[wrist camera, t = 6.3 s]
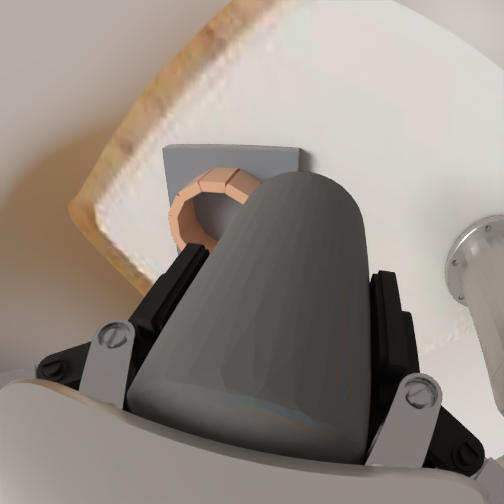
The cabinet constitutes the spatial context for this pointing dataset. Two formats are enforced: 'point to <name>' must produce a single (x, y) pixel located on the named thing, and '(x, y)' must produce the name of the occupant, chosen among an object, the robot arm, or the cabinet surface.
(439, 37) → the cabinet surface
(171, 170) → the holder
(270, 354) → the bottle
